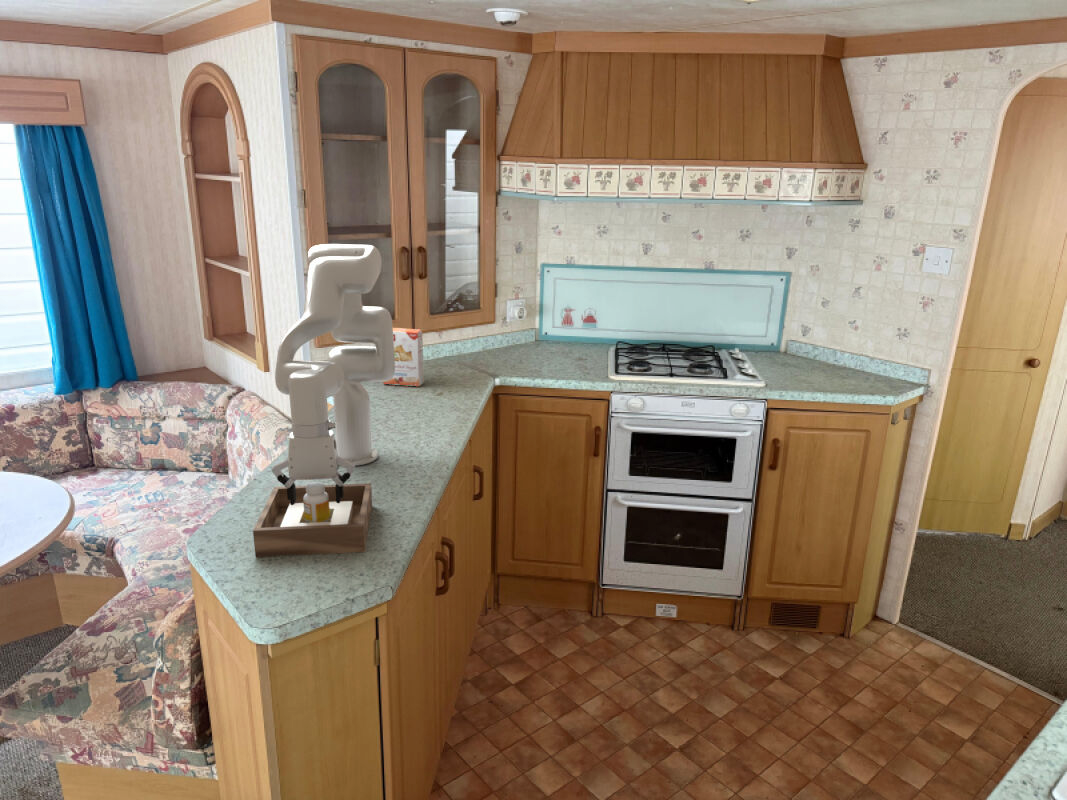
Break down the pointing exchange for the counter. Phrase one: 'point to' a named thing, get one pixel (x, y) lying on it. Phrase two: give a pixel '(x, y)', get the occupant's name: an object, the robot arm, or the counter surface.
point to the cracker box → (407, 357)
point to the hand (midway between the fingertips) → (316, 501)
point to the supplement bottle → (316, 503)
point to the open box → (317, 537)
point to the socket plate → (338, 515)
